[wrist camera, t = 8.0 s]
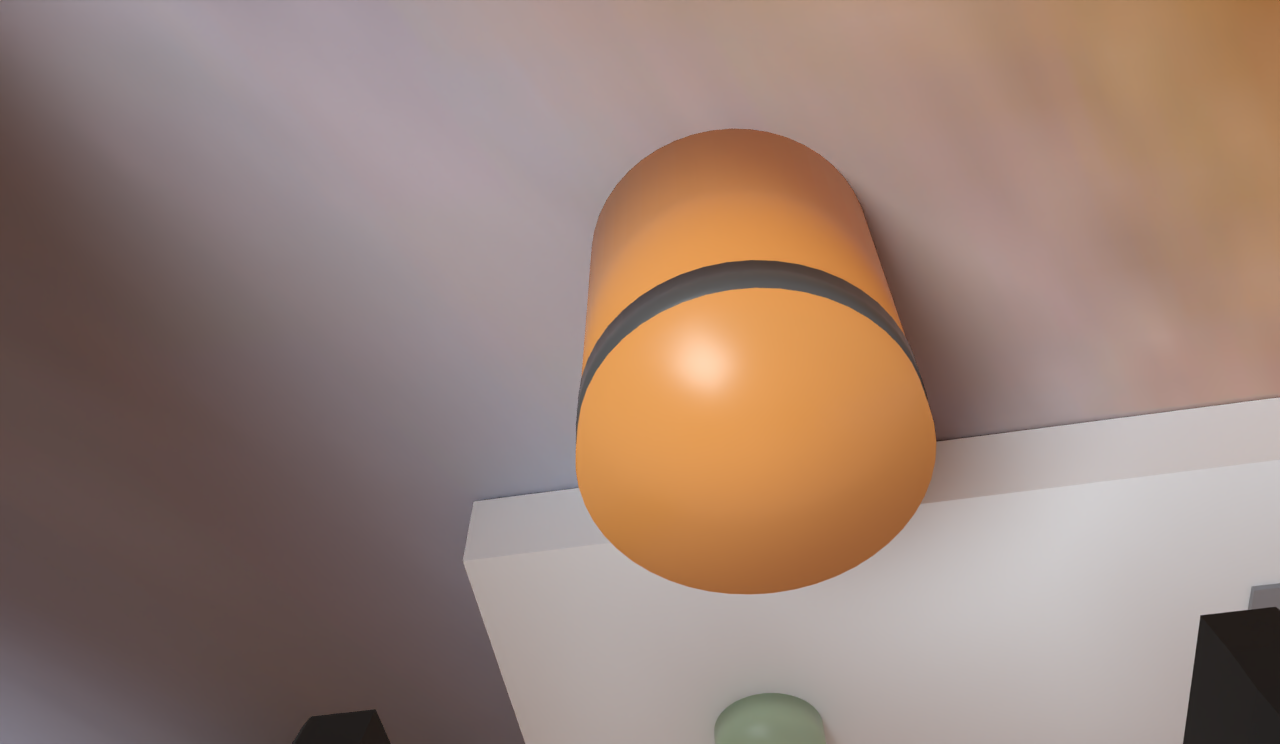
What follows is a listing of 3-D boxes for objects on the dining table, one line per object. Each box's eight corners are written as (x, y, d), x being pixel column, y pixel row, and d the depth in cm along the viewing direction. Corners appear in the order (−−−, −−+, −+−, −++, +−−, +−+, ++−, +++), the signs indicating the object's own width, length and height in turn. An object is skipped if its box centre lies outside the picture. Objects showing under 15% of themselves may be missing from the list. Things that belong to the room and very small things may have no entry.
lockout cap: (861, 105, 17) (933, 283, 12) (877, 355, 19) (941, 574, 15) (564, 151, 17) (538, 339, 13) (617, 390, 19) (609, 613, 15)
